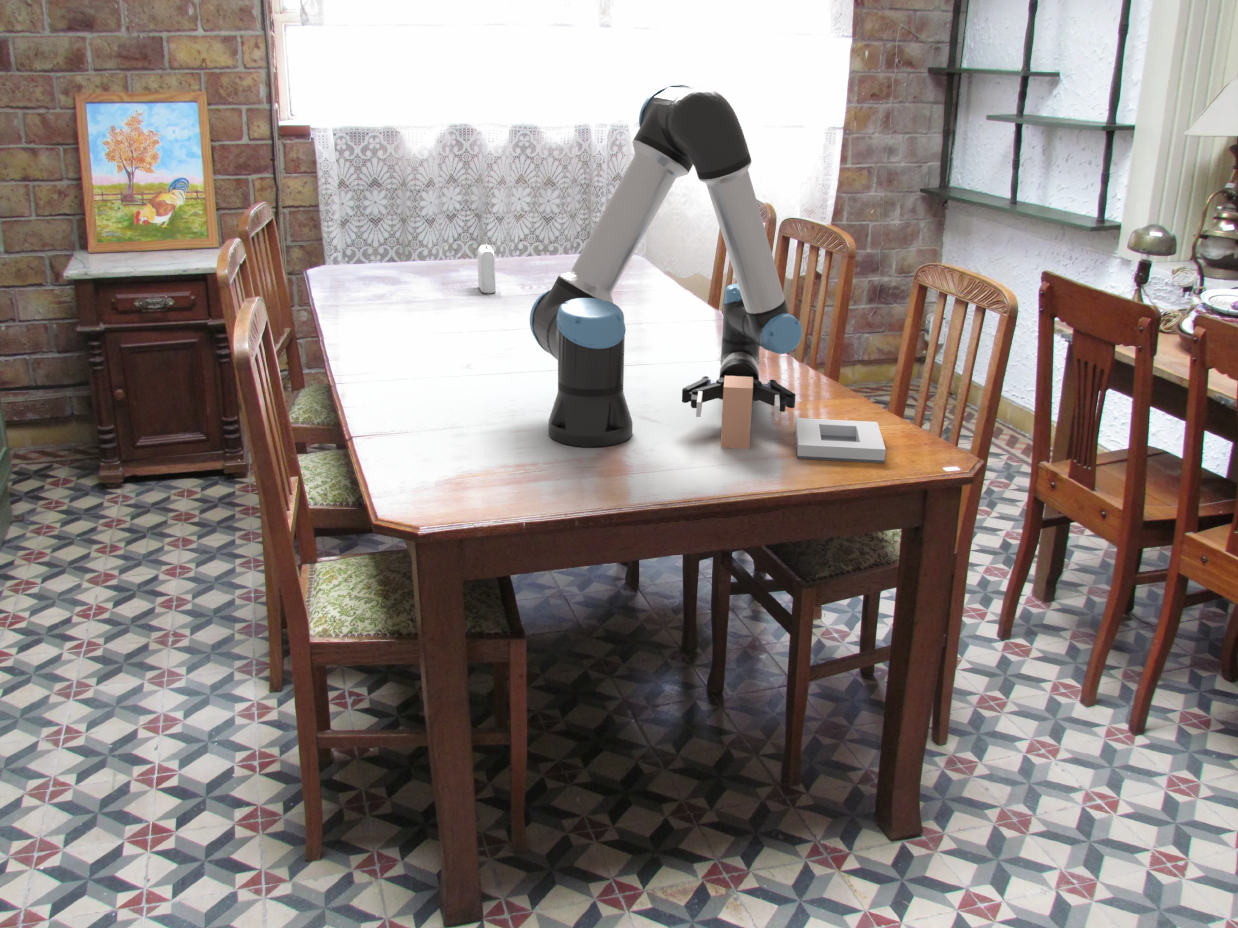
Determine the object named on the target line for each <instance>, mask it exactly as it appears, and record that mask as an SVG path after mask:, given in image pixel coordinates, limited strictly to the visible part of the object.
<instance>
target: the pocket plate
mask: <svg viewBox="0 0 1238 928" xmlns="http://www.w3.org/2000/svg"><path fill="white" fill-rule="evenodd" d="M794 425H795V426H794V436H795V446H796V458H797V459H799V460H815V461H816V460H818V461H837V462H854V463H855V462H857V463H871V464H872V463H873V464H875V463H876V464H885V459H886V450H887V449H886V446H885V443H884V439H883V436H882V433H881V430H880V427H879V422H878V421H867V420H866V421H864V420H848V419H847V420H846V419H845V420H844V419H826V418H821V419H820V418H806V417H805V418H804V417H795V424H794Z"/></svg>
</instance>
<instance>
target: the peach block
mask: <svg viewBox="0 0 1238 928" xmlns="http://www.w3.org/2000/svg"><path fill="white" fill-rule="evenodd" d="M752 395H753V377H743V376H725V378H724V389H723V399H722V408H721V409H722V415H721V432H720V434H721V435H720V448H729V449H749V450H750V444H751V443H750V441H751V426H752V425H751V424H752V412H753V411H752V408H753V400H752Z"/></svg>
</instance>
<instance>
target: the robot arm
mask: <svg viewBox="0 0 1238 928" xmlns="http://www.w3.org/2000/svg"><path fill="white" fill-rule="evenodd" d="M638 116H639V117H638V124H639V129H638V131H636V132H637V133H636V135H635V136H634V138H633V140H632V142H631V143H632V147H633V150H634V155H633V158H632V159H631V161H630V163H629V164H628V167H627V168H626V170H625V172H624V174H623V176H622V177H621V179H620V182H619V183H618V185H617V186H616V188H615V190H614V191H613V194H612V196H611V198H610V199H609V200H608V202H607V205H606V206H605V208H604V210H603V211H602V213H601V216H600V218H599V219H598V221H597V223H596V225H595V226H594V228H593V230H592V231H591V234H590V235H589V237H588V239H587V241H586V243H585V244H584V246H583V248H582V250H581V252H580V254H579V255H578V258H577V259H576V261H575V263H574V264H573V266H572V268H571V269H570V270H569V271H567V272H564V273H560V274H559V275H558V276H557V278H556V280H555V282H554V283H553V285H552V287H551V289H548V290H547V291H546V292H543V293H542V294H541V295H539V296H538V298H537V299H535V302H534V303H533V305H532V306H531V310H530V313H529V314H530V315H529V327H530V332H531V334H532V336H533V337H534V339H535V340H536V343H537V344H538V345H539V346H540V348H542V349H543V350H544V351H545V352H547V353H548V354H550V355H551V356H552V357H554V359H556V360H557V394H556V397H555V400H554V402H553V406H552V409H551V412H550V415H549V417H548V424H547V425H548V431H547V432H548V435H549V438H551V439H553V441H555V442H558V443H561V444H565V445H567V446H574V447H582V448H583V447H585V448H586V447H587V448H593V447H594V448H597V447H599V448H600V447H607V446H614V445H618V444H621V443H624V442H625V441H628V440H630V438H631V437H632V436H633V425H634V424H633V418H632V416H631V414H630V413H631V412H630V410H629V406H628V404H627V403H628V402H627V400H626V397H625V393H624V382H625V381H624V377H625V376H624V374H625V372H624V371H625V336H626V324H625V316H624V311H623V310H622V309H621V307H620V306H618V305H617V304H615V303H614V301H613V297H612V294H613V292H614V290H615V287H616V286H617V284H618V283H619V281H620V280H621V278H622V275H623V274H624V271H625V270H626V268H627V267H628V265H629V263H630V261H631V260H632V257H633V256H634V254H635V252H636V251H637V248H638V247H639V245H640V243H641V242H642V240H643V238H644V236H645V235H646V232H647V231H648V229H649V227H650V226H651V224H652V222H653V220H654V218H655V216H656V215H657V213H658V211H659V209H660V208H661V206H662V204H663V202H664V201H665V199H666V197H667V195H668V194H669V191H670V190H671V188H672V186H673V184H674V183H675V181H676V179H677V178H680V177H683V176H687V175H688V174H689V173H690V171H691V169H692V168H693V167H694V168H695V169H694V170H695V171H696V172H695V173H696V174H697V179H698V180H699V181H700V182H703V183H704V184H706V188H707V191H708V194H709V196H710V197H709V198H710V200H711V201H710V202H711V205H712V206H713V210H714V212H715V217H716V219H717V223H718V226H719V228H720V232H721V235H722V239H723V242H724V245H725V250H726V251H727V255H728V259H729V261H730V265H731V268H732V270H733V274H734V278H735V279H736V283H731V284H729V285H727V287H725V289H724V299H723V303H722V306H723V307H722V308H723V311H722V314H723V315H722V338H721V351H720V359H719V360H720V361H719V362H720V367H719V368H720V369H719V378H717V379H716V381H714V380H711V378H710V377H709V376H706V375H705V376H702V377H701V379H700V380H698V381H696V382H693V383H691V384H689V385H687V386H685V387H683V388H682V389H681V402H682V403H684V404H688V403H690V408H691V409H696V413H695V416H696V417H695V418H701V415H702V414H701V413H702V407H703V403H706V402H709V401H712V400H716V399H719V400H723V389H724V378H725V376H743V377H753V395H752V402H757V401H760V402H762V403H765V404H768V405H770V406H772V407H773V413H774V414H773V415H774V416H773V417H774V418H773V419H774V421H775V422H777V421H778V422H779V421H780V412H784V413H785V412H786V407H787V408H788V409H789V408H790V409H794V408H795V407H796V406H795V405H796V395H797V394H796V393H795V392H792V391H791V390H790V389H788V388H786V387H785V386H783V385H781V384H779V383H778V382H777V380H776V379H769V381H767V383H762V381H760V369H759V368H760V366H759V365H760V348H762V349H764V350H765V351H769V352H772V353H775V354H778V355H785V354H789V353H791V352H793V350H795V349H796V348H797V347H798V346H799V344H800V343H801V340H802V338H803V327H802V323H801V322H800V321H799V319H798V318H796V317H795V316H794V315H793V314H792V313H790V311H789V308H788V305H787V302H786V298H785V295H784V291H783V287H782V284H781V281H780V277H779V273H778V270H777V267H776V264H775V260H774V256H773V252H772V250H771V246H770V241H769V239H768V235H767V232H766V228H765V225H764V222H763V217H762V214H761V211H760V208H759V203H758V199H757V197H756V194H755V190H754V186H753V183H752V179H751V176H750V172H749V169H750V166H751V165H752V161H753V160H752V158H751V154H750V151H749V147H748V144H747V141H746V138H745V134H744V131H743V129H742V126H741V124H740V120H739V118H738V116H737V114H736V112H735V110H734V108H733V107H732V106H731V104H730V102H729V101H728V100H727V99H726V98H725V97H724V96H723V95H722V94H720V93H718V92H716V91H715V90H712V89H711V88H710V89H709V88H706V87H705V88H704V87H694V86H693V87H691V86H688V85H685V84H671V85H668V86H667V85H666V86H664V87H661V88H658V89H657V90H655V91H654V92H652V93H651V94H650V95H648V97H646V100H645V101H644V102H643V104H642V106H641V109H640V111H639V115H638Z"/></svg>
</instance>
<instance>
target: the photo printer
mask: <svg viewBox="0 0 1238 928" xmlns="http://www.w3.org/2000/svg"><path fill="white" fill-rule="evenodd" d="M495 255H496V254H495V252H494V249H493V248H492V247H491V246H490V245H489V244H481V245H480V246H479V247H478V249H477V255H476V256H477V281H478V283H477V284H478V288H479V290H480V291H481V293H483V294H493V293H495V292H496V256H495Z"/></svg>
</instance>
